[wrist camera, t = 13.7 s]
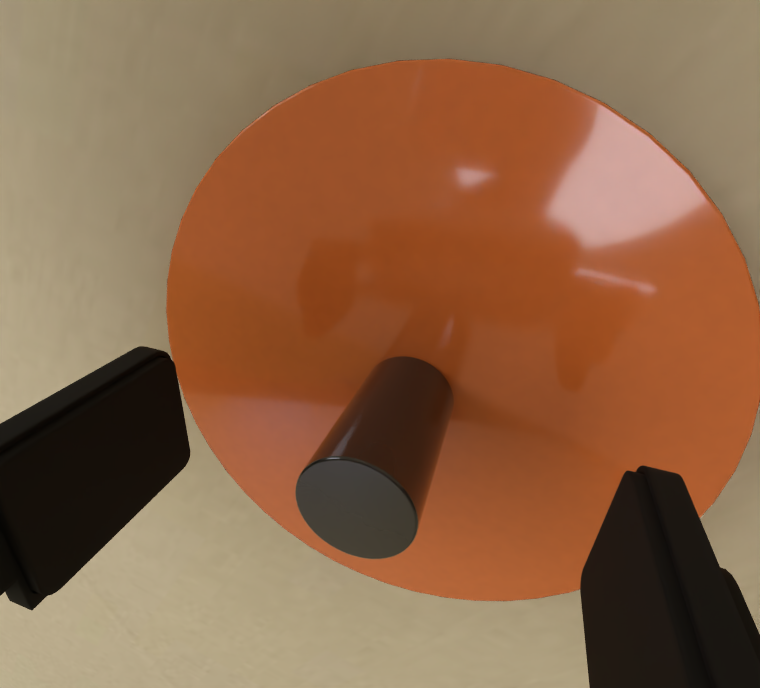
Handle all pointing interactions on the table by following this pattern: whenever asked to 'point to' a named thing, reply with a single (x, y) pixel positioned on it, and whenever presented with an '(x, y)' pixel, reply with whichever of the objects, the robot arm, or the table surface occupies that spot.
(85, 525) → the robot arm
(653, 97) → the table surface
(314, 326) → the pan lid
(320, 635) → the table surface
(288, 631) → the table surface
